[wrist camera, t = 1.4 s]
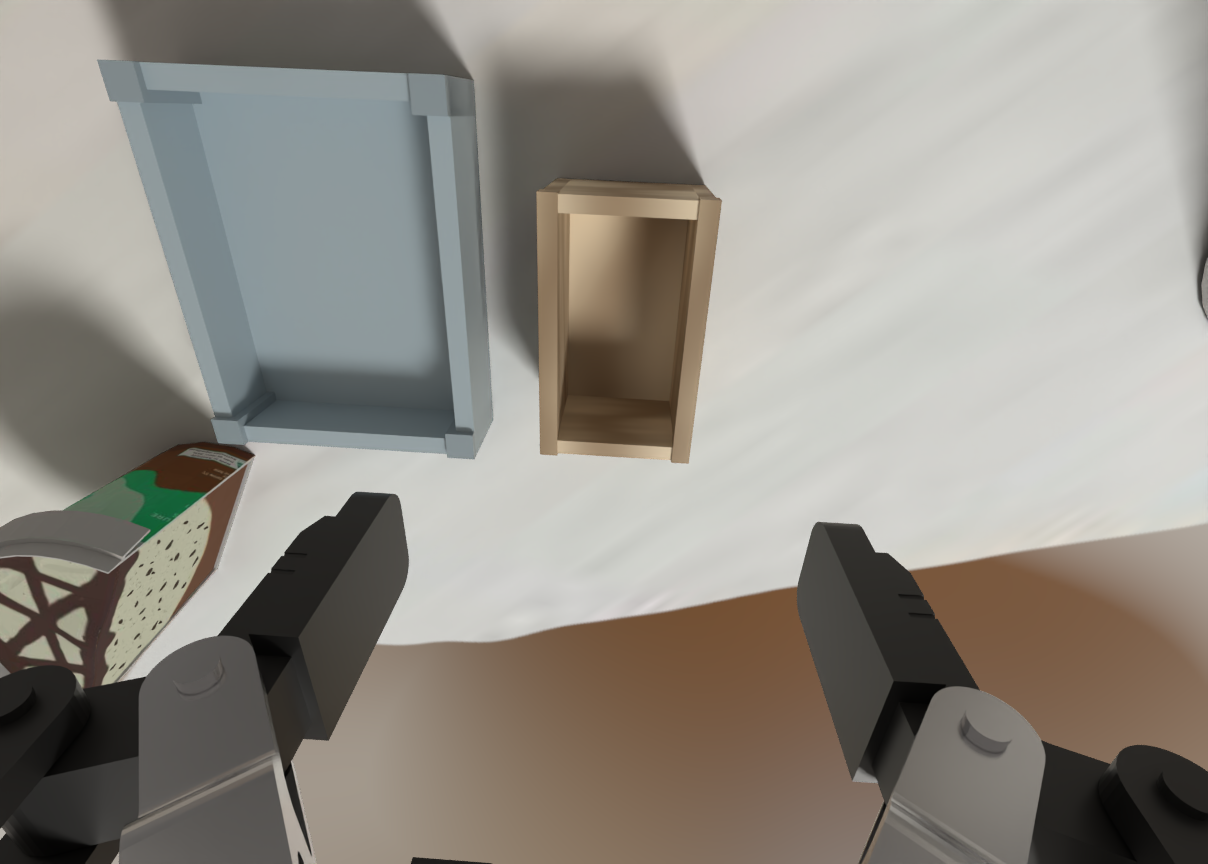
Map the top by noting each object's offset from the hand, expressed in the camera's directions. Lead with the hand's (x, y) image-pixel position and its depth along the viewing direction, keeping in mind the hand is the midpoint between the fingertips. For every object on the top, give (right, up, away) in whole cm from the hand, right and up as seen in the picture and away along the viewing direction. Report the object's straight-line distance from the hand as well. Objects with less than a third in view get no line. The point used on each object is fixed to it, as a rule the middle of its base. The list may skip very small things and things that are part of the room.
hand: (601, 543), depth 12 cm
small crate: (+1, +8, +15) cm, 17 cm away
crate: (-11, +9, +15) cm, 21 cm away
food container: (-23, -1, +21) cm, 32 cm away
